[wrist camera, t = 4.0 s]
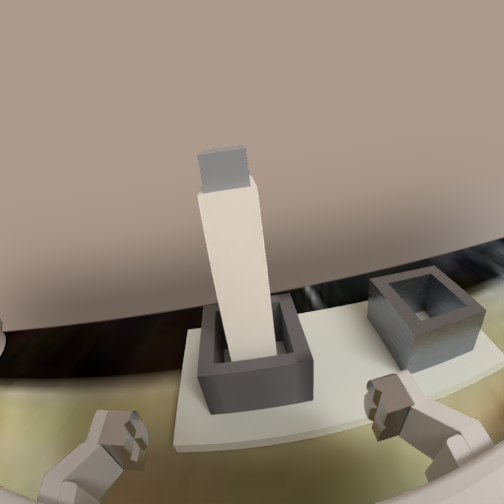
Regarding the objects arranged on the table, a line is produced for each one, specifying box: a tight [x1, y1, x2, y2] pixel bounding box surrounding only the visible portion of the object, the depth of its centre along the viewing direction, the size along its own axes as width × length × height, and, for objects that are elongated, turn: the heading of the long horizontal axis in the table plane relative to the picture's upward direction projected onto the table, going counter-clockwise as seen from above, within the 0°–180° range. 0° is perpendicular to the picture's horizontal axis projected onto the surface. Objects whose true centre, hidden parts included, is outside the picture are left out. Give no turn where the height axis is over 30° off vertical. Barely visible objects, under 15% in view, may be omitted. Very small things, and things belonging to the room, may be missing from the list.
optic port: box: [367, 266, 486, 374], centre depth 22 cm, size 7×8×4 cm
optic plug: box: [198, 145, 277, 362], centre depth 19 cm, size 3×4×16 cm
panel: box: [173, 293, 504, 453], centre depth 22 cm, size 26×13×5 cm, turn 94°
